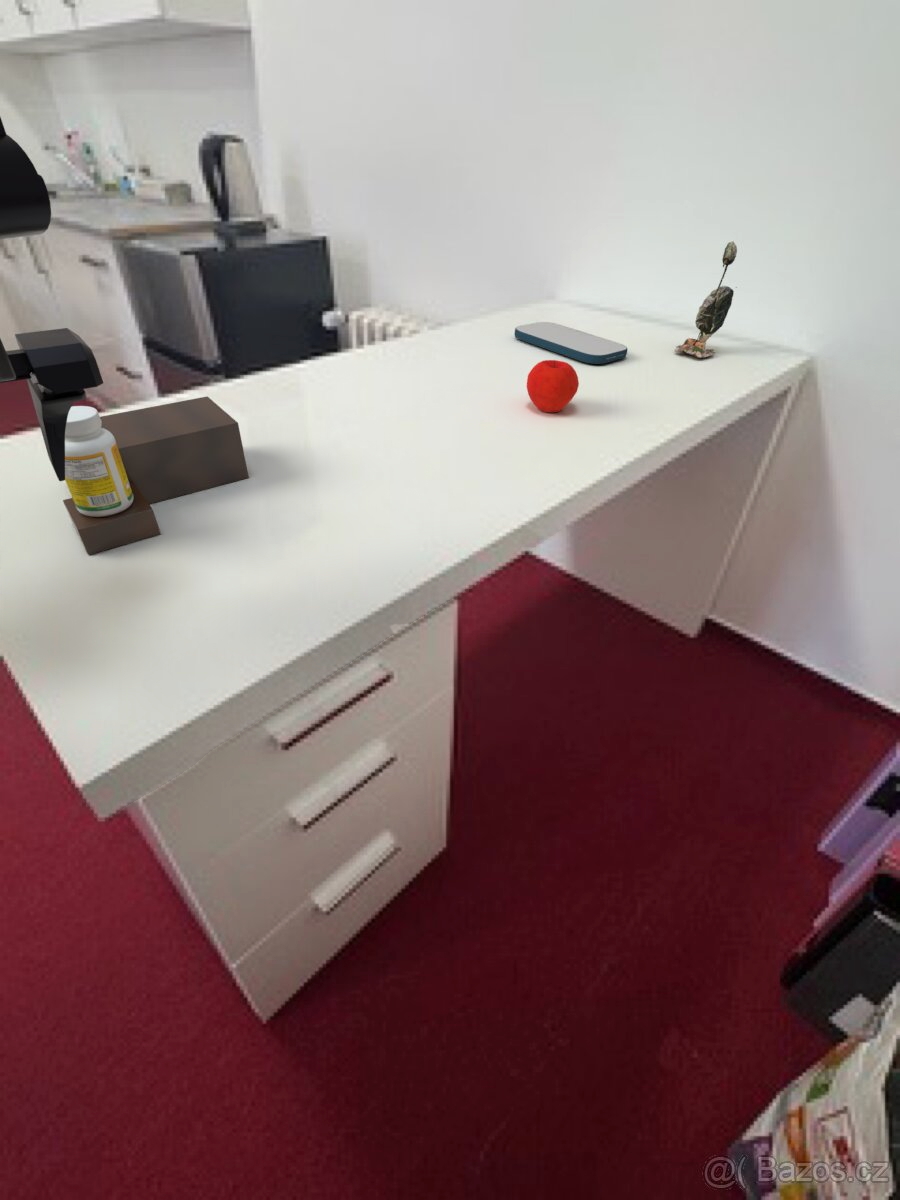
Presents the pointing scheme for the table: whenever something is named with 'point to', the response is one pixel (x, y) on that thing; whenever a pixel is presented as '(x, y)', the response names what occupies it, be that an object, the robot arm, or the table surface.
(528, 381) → the apple
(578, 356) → the external hard drive
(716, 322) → the plant with pod
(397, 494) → the table surface
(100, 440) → the supplement bottle
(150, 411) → the step shelf
